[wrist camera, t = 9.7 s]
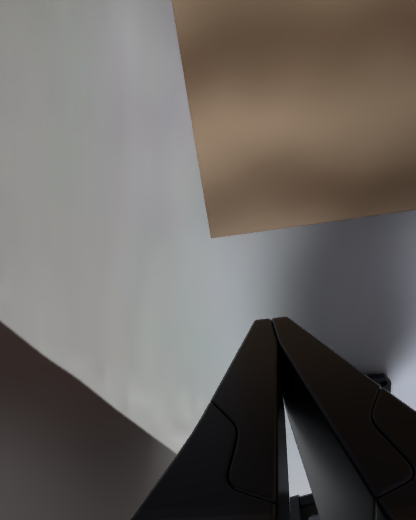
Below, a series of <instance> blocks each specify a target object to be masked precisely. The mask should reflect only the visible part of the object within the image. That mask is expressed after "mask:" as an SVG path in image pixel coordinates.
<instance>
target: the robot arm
mask: <svg viewBox="0 0 416 520" xmlns="http://www.w3.org/2000/svg"><path fill="white" fill-rule="evenodd" d="M381 381H383V382H381ZM283 400H284V401H283ZM284 405H285V408H286V412H287V415H288V419H289V422H290V425H291V428H292V431H293V434H294V437H295V441H296V444H297V447H298V450H299V453H300V456H301V459H302V463H303V466H304V469H305V472H306V475H307V478H308V481H309V484H310V488H311V491H312V493H311V494H307V495H303V496H299V495H296V496H292V497H290V501H289V483H288V464H287V446H286V428H285V412H284ZM129 520H416V411H415V410H413V409H412V408H410V407H409V406H408V405H406V404H405V403H403V402H402V401H401V400H399V399H398V398H396V397H395V396H394V395H392V394H391V381H390V379H389V378H388V376H387V375H385V374H371V375H365V374H364V373H362V372H361V371H360V370H358V369H357V368H356V367H354V366H353V365H352V364H350V363H349V362H347V361H346V360H345V359H343V358H342V357H341V356H339V355H338V354H337V353H335V352H334V351H333V350H331V349H330V348H329V347H327V346H326V345H325V344H323V343H322V342H320V341H319V340H318V339H316V338H315V337H314V336H312V335H311V334H310V333H308V332H307V331H306V330H304V329H303V328H302V327H300V326H299V325H297V324H296V323H295V322H293V321H292V320H291V319H289V318H288V317H278V318H273V319H272V320H270V319H260V320H255V321H254V323H253V325H252V326H251V328H250V330H249V332H248V334H247V335H246V337H245V339H244V341H243V343H242V345H241V346H240V348H239V350H238V352H237V354H236V356H235V357H234V359H233V361H232V363H231V365H230V366H229V368H228V370H227V372H226V374H225V376H224V377H223V379H222V381H221V383H220V385H219V387H218V388H217V390H216V392H215V394H214V396H213V397H212V399H211V403H209V404H208V406H207V408H206V410H205V412H204V414H203V415H202V417H201V419H200V420H199V422H198V424H197V425H196V427H195V429H194V430H193V432H192V434H191V435H190V437H189V438H188V440H187V441H186V443H185V444H184V445H183V447H182V448H181V450H180V451H179V453H178V454H177V456H176V457H175V458H174V460H173V461H172V463H171V464H170V465H169V467H168V468H167V469H166V471H165V472H164V473H163V475H162V476H161V477H160V479H159V480H158V482H157V483H156V484H155V486H154V487H153V488H152V490H151V491H150V492H149V494H148V495H147V497H146V498H145V499H144V501H143V502H142V503H141V505H140V506H139V508H138V509H137V510H136V512H135V513H134V514H133V516H132V517H131V518H130V519H129Z"/></svg>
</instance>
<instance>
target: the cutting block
mask: <svg viewBox="0 0 416 520" xmlns="http://www.w3.org/2000/svg"><path fill="white" fill-rule="evenodd" d="M172 5H173V11H174V17H175V23H176V29H177V35H178V41H179V47H180V53H181V59H182V65H183V72H184V78H185V84H186V90H187V96H188V102H189V108H190V114H191V120H192V126H193V132H194V138H195V144H196V150H197V156H198V162H199V168H200V174H201V180H202V186H203V193H204V199H205V205H206V211H207V217H208V223H209V229H210V235H211V238H216V237H223V236H231V235H238V234H245V233H252V232H259V231H267V230H274V229H281V228H288V227H295V226H303V225H310V224H317V223H324V222H331V221H339V220H346V219H353V218H360V217H367V216H375V215H382V214H389V213H396V212H403V211H411V210H416V0H172Z"/></svg>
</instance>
